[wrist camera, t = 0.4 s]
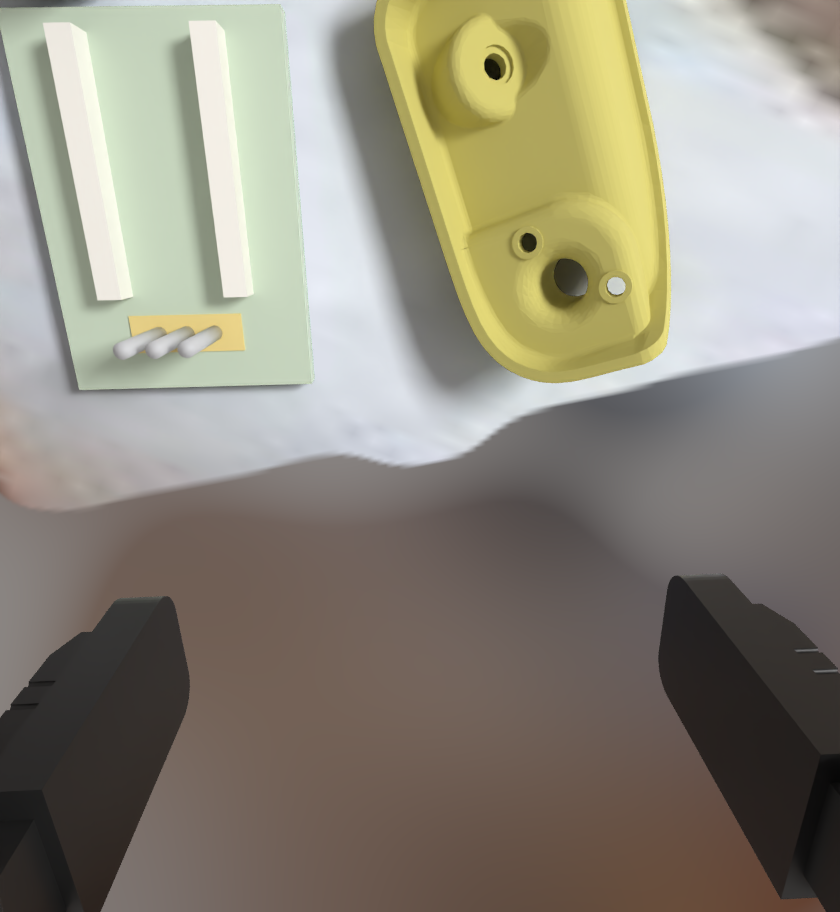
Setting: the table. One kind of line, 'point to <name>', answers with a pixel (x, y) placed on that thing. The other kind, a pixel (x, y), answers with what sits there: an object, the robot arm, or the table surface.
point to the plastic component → (537, 174)
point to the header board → (167, 190)
